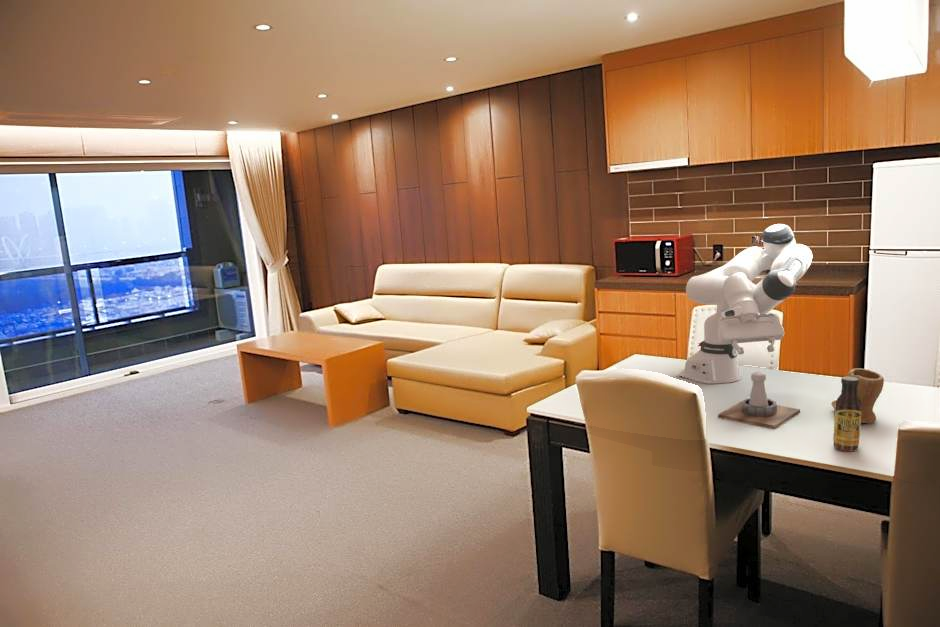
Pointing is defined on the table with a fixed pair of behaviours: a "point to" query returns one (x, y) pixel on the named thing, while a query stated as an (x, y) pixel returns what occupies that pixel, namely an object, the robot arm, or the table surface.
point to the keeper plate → (769, 422)
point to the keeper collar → (759, 409)
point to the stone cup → (866, 391)
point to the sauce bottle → (847, 416)
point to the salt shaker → (758, 390)
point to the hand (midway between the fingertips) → (756, 352)
